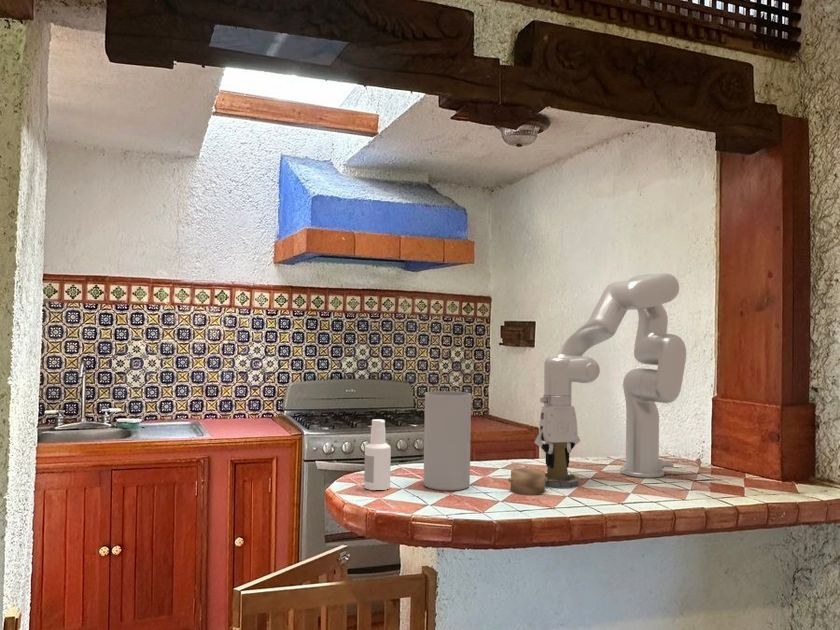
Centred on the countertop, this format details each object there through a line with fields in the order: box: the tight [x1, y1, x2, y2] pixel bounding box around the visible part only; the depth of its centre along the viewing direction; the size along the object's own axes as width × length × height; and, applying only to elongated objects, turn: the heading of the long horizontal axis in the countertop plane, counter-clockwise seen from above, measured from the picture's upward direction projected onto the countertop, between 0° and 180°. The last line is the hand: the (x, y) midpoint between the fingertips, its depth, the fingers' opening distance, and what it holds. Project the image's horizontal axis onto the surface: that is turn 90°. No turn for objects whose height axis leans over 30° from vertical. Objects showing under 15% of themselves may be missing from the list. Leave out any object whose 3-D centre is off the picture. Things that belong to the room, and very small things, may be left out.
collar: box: [545, 472, 580, 489], centre depth 192 cm, size 12×12×2 cm
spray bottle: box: [363, 418, 392, 491], centre depth 182 cm, size 7×7×18 cm
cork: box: [546, 443, 569, 480], centre depth 192 cm, size 6×6×11 cm
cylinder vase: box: [422, 390, 472, 492], centre depth 186 cm, size 12×12×25 cm
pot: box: [507, 467, 548, 496], centre depth 182 cm, size 11×9×5 cm
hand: (557, 466), depth 192 cm, fingers closed on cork, 3 cm apart
